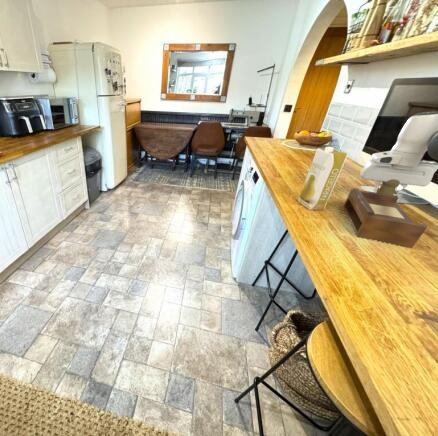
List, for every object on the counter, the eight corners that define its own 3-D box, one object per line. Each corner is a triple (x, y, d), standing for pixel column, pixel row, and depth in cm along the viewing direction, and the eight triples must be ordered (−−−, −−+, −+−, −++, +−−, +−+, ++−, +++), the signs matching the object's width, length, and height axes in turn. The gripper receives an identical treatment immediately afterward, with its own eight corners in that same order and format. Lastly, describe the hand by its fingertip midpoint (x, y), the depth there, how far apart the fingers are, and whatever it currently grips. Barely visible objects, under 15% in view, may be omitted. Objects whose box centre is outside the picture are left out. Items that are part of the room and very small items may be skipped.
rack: (386, 214, 93) (398, 193, 88) (411, 248, 74) (429, 224, 70) (342, 206, 98) (352, 186, 94) (357, 237, 80) (370, 213, 75)
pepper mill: (392, 206, 95) (407, 181, 90) (374, 204, 97) (387, 179, 92) (385, 200, 100) (399, 175, 95) (367, 198, 102) (380, 174, 96)
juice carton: (294, 201, 103) (314, 144, 90) (311, 200, 103) (334, 144, 91) (309, 211, 95) (333, 151, 82) (327, 210, 95) (354, 150, 83)
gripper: (437, 159, 88) (416, 193, 95) (367, 153, 96) (353, 185, 103) (446, 164, 83) (423, 200, 90) (372, 157, 91) (356, 190, 98)
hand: (385, 192), depth 96 cm, fingers closed on pepper mill, 4 cm apart
